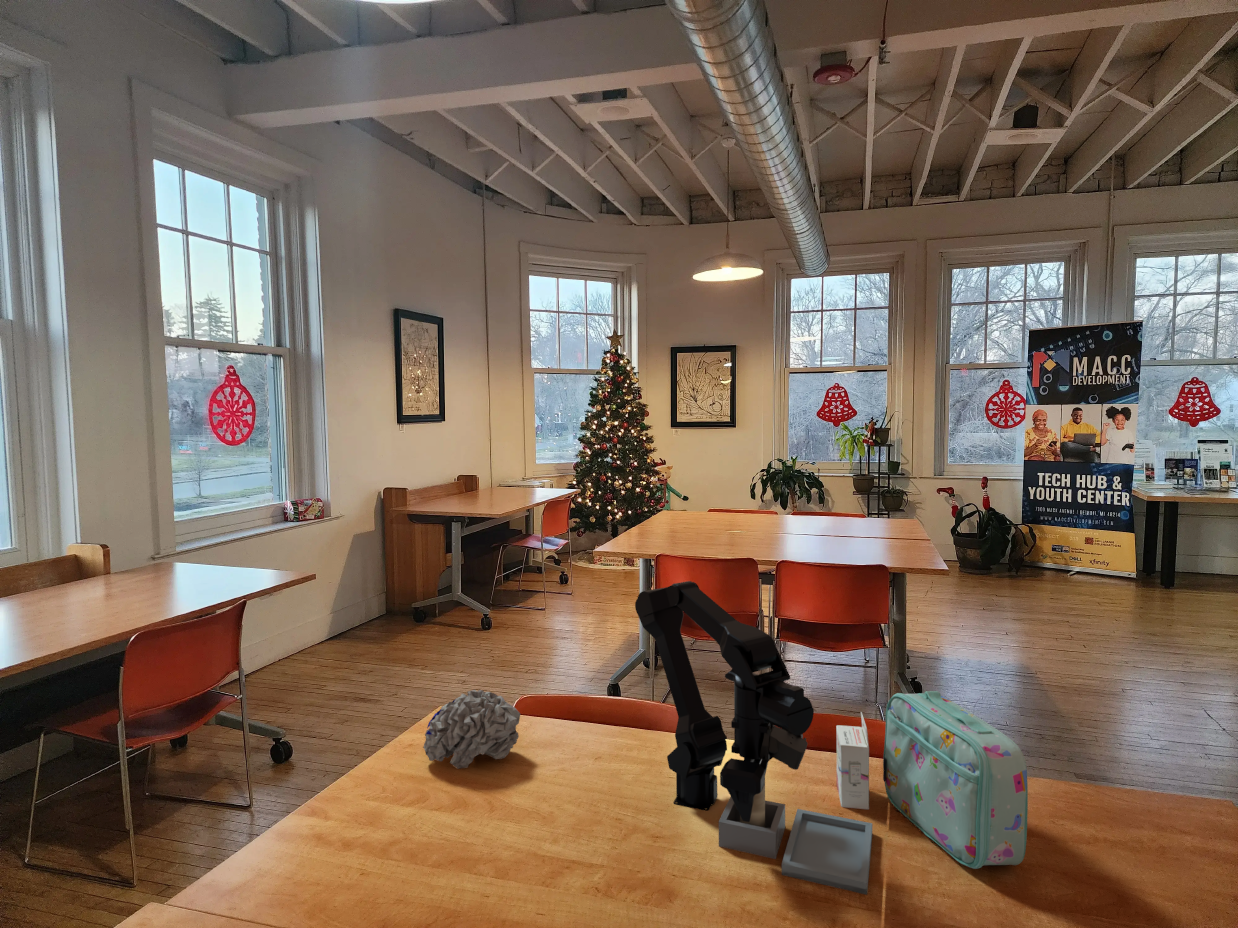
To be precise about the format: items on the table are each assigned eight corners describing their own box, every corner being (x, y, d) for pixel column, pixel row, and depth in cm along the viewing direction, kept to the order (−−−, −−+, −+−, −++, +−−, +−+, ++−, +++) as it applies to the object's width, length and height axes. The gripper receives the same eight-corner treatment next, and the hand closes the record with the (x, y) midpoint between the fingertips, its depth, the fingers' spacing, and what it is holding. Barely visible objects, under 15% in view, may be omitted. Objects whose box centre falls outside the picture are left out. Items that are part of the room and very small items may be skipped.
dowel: (737, 840, 112) (737, 780, 112) (743, 827, 116) (743, 768, 115) (762, 845, 111) (762, 784, 110) (767, 832, 114) (767, 773, 114)
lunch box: (871, 793, 127) (872, 678, 126) (921, 786, 129) (922, 673, 128) (974, 887, 101) (976, 743, 100) (1035, 877, 103) (1037, 736, 102)
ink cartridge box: (834, 785, 130) (835, 708, 129) (862, 787, 129) (863, 709, 128) (840, 809, 122) (840, 727, 121) (869, 812, 121) (870, 729, 120)
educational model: (452, 771, 149) (419, 709, 149) (535, 727, 150) (502, 666, 149) (438, 804, 135) (402, 736, 135) (529, 755, 136) (493, 687, 135)
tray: (781, 877, 104) (781, 863, 104) (797, 821, 118) (797, 808, 118) (867, 897, 99) (867, 882, 99) (872, 836, 114) (872, 823, 114)
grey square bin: (718, 848, 111) (718, 821, 111) (731, 819, 119) (731, 793, 119) (775, 861, 107) (775, 833, 107) (785, 830, 116) (785, 804, 115)
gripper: (794, 744, 101) (794, 849, 101) (811, 698, 118) (810, 787, 119) (719, 732, 105) (719, 833, 106) (745, 689, 122) (745, 775, 123)
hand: (752, 805), depth 113 cm, fingers open, 9 cm apart
